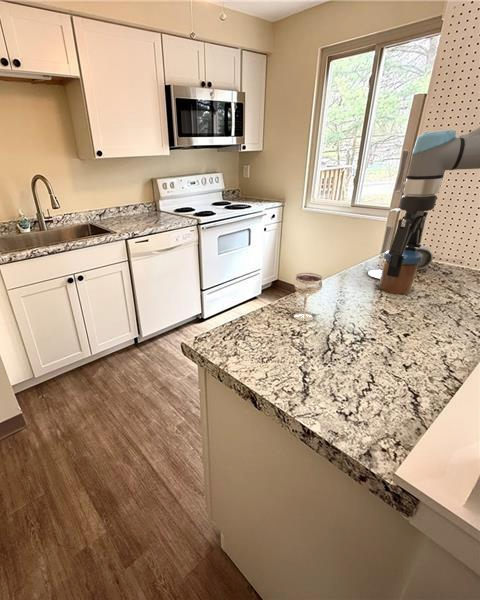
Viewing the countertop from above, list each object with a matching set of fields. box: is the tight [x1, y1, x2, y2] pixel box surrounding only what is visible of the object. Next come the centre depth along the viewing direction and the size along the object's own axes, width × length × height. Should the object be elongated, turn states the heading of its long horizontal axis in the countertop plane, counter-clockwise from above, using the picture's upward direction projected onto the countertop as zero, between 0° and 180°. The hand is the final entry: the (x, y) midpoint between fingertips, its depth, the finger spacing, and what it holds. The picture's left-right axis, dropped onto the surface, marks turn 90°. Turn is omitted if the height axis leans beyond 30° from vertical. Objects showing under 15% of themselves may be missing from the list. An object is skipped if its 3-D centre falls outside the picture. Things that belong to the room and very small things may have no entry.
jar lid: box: [383, 249, 423, 264], centre depth 92 cm, size 9×9×2 cm
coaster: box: [367, 269, 383, 281], centre depth 106 cm, size 10×10×1 cm
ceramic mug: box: [415, 244, 434, 271], centre depth 110 cm, size 11×8×8 cm
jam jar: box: [377, 259, 419, 295], centre depth 94 cm, size 8×8×10 cm
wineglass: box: [293, 272, 324, 322], centre depth 84 cm, size 7×7×12 cm
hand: (398, 271), depth 94 cm, fingers closed on jar lid, 9 cm apart
